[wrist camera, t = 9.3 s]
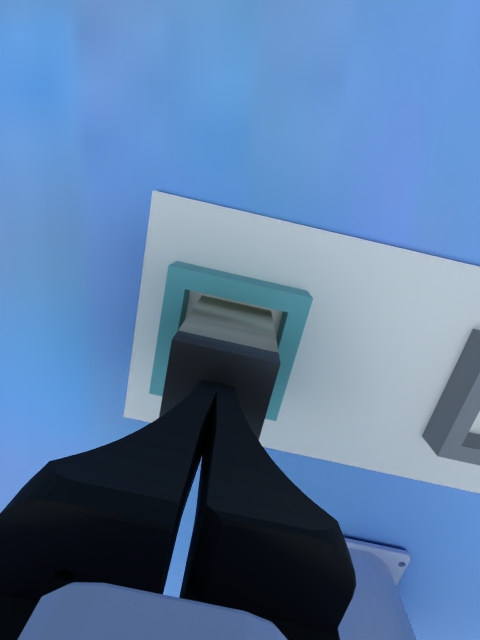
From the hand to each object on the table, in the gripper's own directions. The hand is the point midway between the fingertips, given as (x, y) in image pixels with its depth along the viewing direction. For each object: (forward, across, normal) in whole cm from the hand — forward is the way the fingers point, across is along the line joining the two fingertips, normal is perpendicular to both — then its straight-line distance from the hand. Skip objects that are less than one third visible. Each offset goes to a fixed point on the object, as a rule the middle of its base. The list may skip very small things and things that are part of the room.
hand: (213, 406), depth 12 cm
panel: (+8, -9, 0) cm, 12 cm away
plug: (+7, 0, 0) cm, 7 cm away
